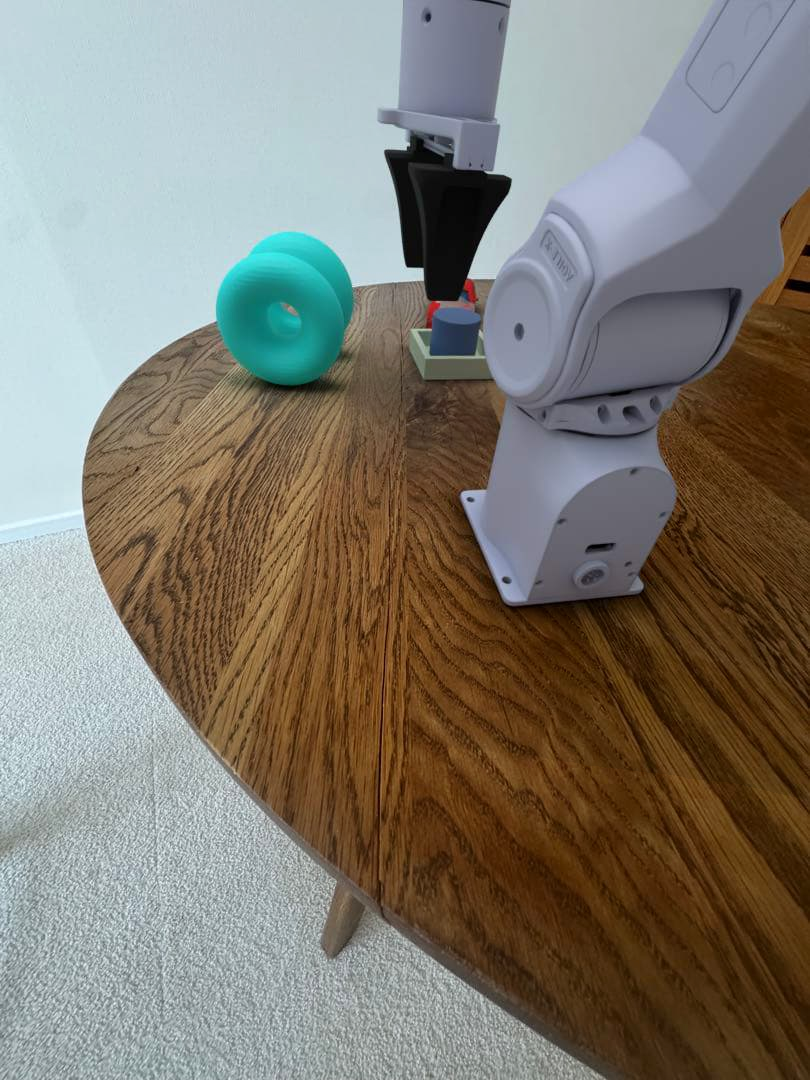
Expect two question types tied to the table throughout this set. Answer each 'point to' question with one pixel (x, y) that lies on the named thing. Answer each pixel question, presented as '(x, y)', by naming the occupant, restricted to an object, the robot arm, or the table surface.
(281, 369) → the turquoise spool
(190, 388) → the table surface
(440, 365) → the tray
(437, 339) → the cylinder
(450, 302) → the race car
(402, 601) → the table surface
